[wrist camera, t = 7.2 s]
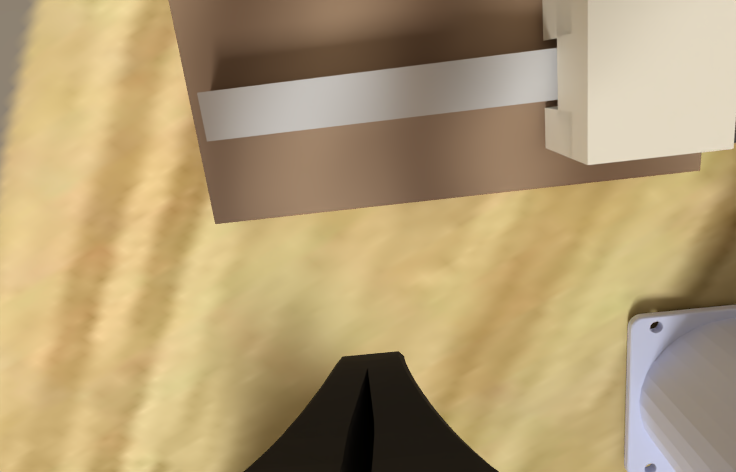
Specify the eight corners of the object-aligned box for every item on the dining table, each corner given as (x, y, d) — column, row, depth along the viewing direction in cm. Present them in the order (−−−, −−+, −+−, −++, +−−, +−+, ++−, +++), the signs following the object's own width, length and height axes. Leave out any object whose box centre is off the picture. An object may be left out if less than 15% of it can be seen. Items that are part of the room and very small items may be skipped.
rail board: (694, -67, 18) (780, -108, 14) (681, 165, 20) (753, 185, 16) (181, 2, 19) (129, -18, 15) (224, 216, 21) (189, 246, 17)
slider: (667, -21, 17) (749, -50, 13) (661, 134, 18) (733, 148, 14) (542, -5, 17) (588, -29, 13) (545, 148, 18) (587, 165, 15)
